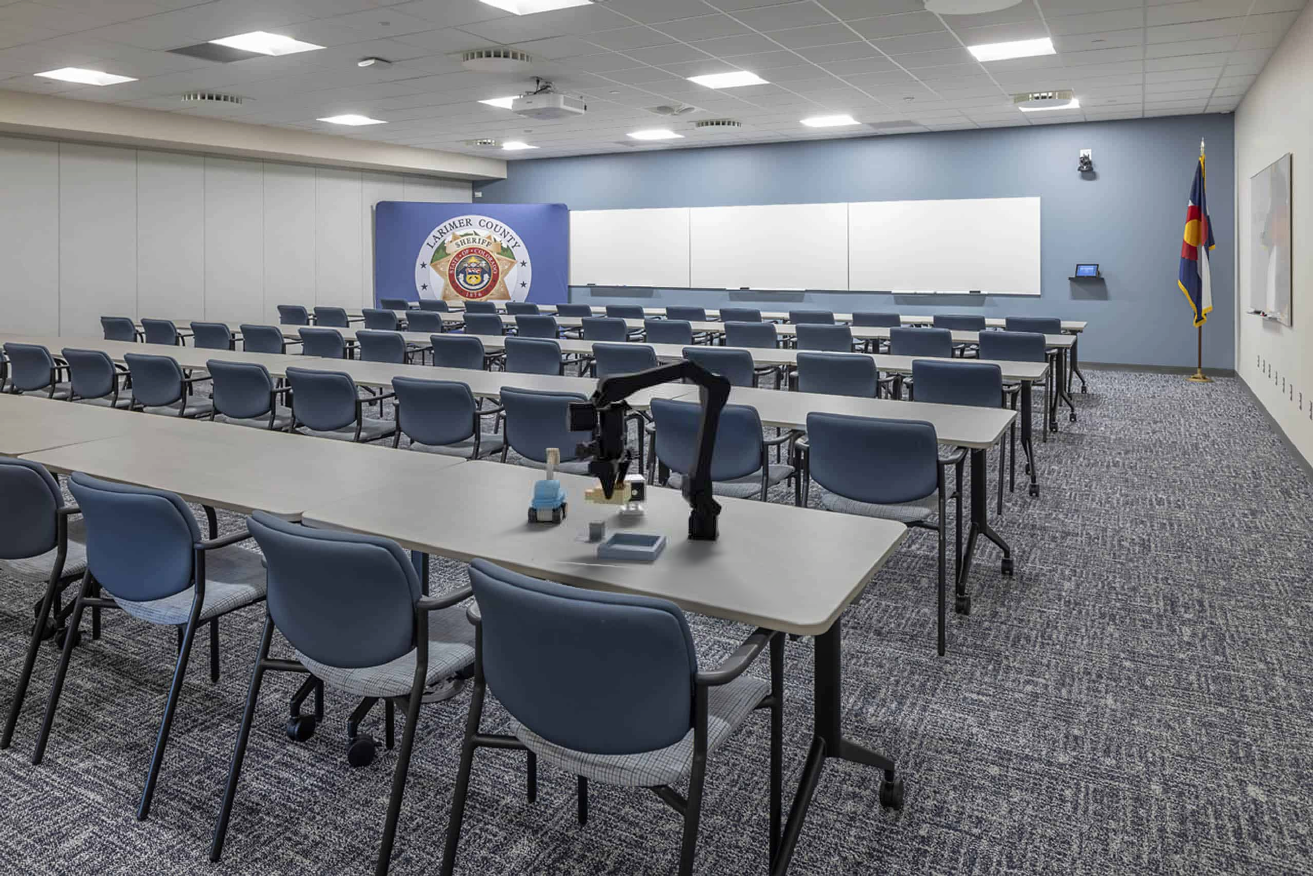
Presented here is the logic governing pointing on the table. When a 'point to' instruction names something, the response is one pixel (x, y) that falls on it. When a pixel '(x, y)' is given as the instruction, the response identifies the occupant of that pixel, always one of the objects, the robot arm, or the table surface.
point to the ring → (618, 497)
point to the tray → (631, 546)
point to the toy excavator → (548, 494)
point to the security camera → (635, 495)
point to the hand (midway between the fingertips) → (612, 495)
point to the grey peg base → (594, 532)
